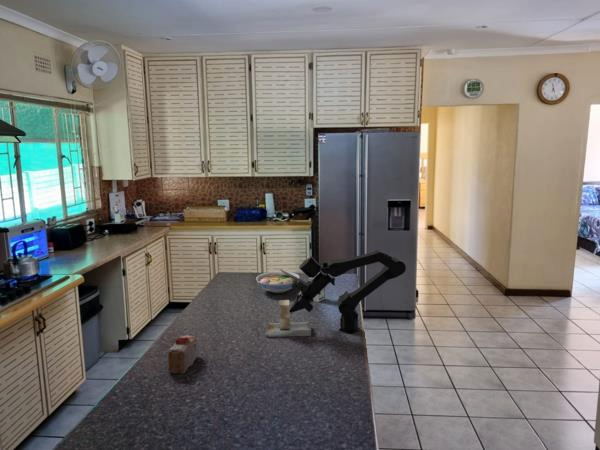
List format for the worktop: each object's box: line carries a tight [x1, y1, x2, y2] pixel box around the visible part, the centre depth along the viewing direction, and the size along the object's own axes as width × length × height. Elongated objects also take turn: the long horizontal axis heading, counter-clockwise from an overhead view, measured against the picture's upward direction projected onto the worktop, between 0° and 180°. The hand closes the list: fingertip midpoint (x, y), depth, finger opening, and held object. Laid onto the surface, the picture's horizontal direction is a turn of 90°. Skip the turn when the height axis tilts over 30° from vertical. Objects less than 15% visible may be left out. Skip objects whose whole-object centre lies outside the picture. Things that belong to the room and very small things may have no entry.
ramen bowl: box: [255, 268, 302, 294], centre depth 235 cm, size 25×23×8 cm
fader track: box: [265, 321, 312, 338], centre depth 185 cm, size 18×8×2 cm, turn 92°
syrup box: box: [308, 272, 326, 303], centre depth 221 cm, size 6×6×14 cm
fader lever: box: [278, 299, 291, 330], centre depth 183 cm, size 4×6×11 cm
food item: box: [167, 334, 200, 374], centre depth 159 cm, size 14×8×10 cm, turn 175°
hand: (290, 311), depth 183 cm, fingers closed, pressing on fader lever
